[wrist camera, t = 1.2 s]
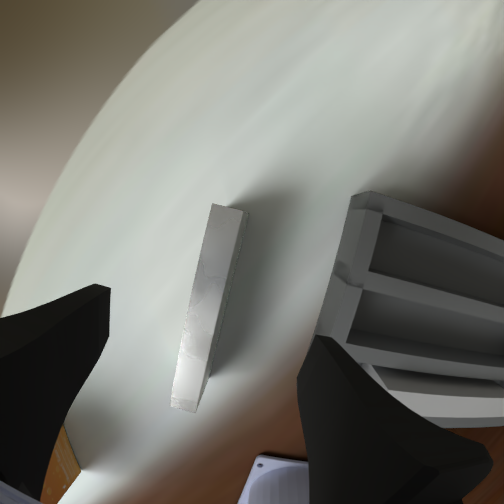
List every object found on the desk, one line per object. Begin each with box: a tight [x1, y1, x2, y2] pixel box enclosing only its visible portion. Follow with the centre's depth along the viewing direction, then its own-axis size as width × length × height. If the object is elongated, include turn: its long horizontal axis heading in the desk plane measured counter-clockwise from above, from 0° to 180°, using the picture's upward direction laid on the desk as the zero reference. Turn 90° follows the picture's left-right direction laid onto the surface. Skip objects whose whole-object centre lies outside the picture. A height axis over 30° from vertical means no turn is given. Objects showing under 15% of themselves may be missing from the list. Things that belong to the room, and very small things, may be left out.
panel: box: [170, 203, 249, 413], centre depth 19 cm, size 12×2×5 cm, turn 166°
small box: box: [40, 425, 81, 504], centre depth 17 cm, size 8×6×13 cm
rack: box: [306, 191, 504, 428], centre depth 18 cm, size 14×20×6 cm, turn 76°
